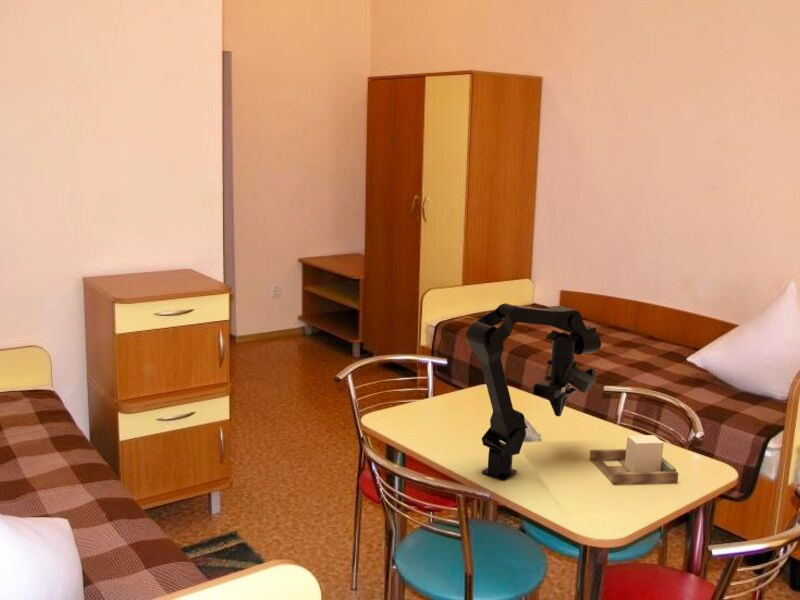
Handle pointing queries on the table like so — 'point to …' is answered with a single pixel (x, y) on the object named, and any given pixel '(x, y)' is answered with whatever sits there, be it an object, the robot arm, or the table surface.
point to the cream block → (643, 453)
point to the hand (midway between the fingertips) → (558, 415)
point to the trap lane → (624, 476)
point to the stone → (531, 433)
